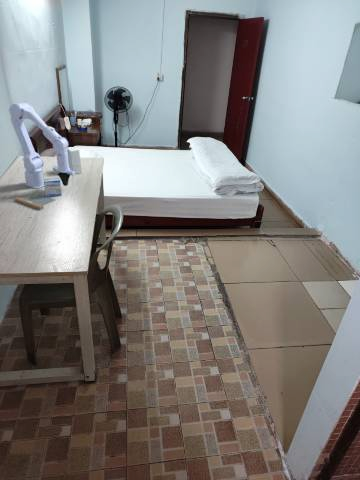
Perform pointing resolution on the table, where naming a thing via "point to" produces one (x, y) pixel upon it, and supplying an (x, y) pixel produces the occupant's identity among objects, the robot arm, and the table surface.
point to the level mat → (36, 201)
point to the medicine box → (52, 187)
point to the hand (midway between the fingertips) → (65, 185)
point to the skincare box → (74, 160)
